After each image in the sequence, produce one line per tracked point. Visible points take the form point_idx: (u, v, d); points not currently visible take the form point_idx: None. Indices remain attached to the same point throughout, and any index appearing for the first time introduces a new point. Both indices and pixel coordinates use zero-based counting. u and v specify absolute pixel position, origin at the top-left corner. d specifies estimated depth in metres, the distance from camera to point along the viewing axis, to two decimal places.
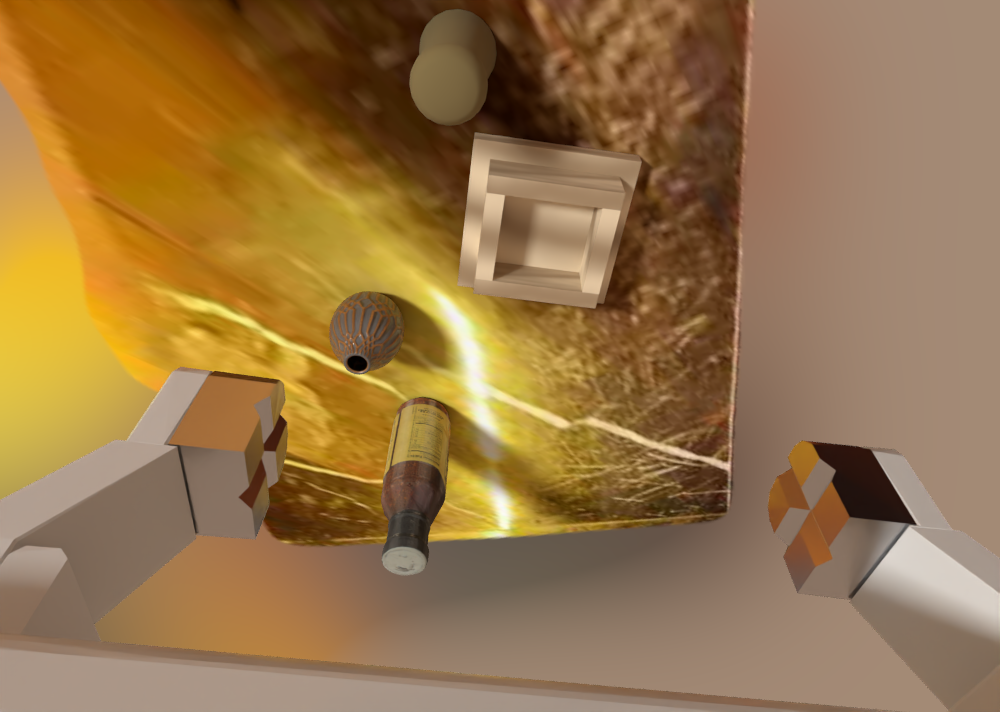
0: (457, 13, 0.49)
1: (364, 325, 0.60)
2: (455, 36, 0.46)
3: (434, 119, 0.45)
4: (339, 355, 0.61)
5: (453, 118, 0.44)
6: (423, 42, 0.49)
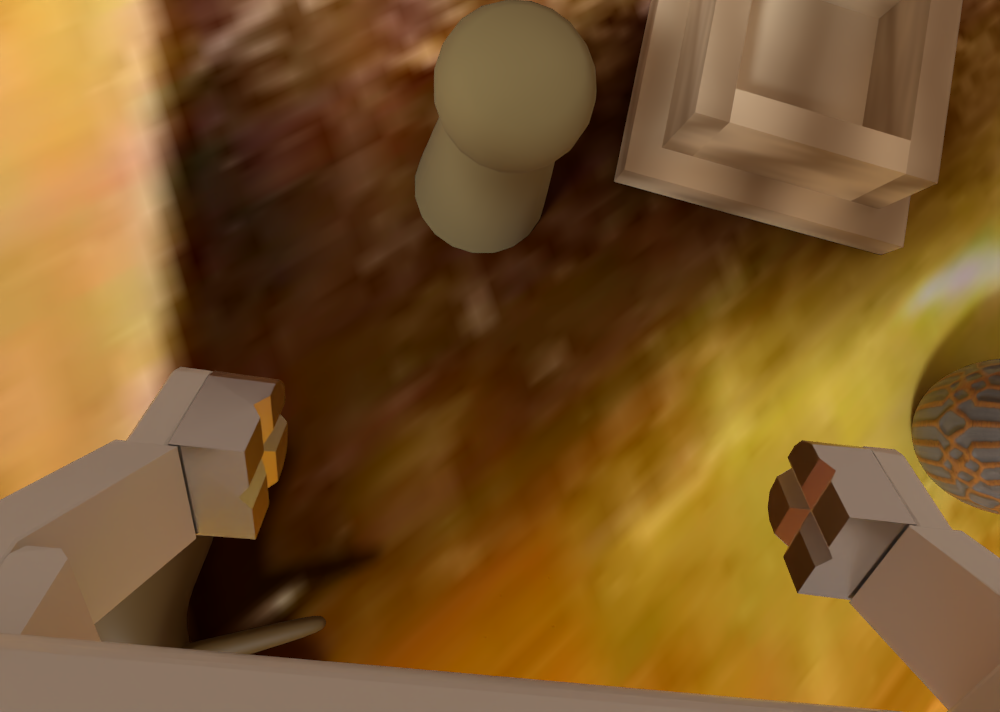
0: (418, 169, 0.29)
1: None
2: (439, 120, 0.25)
3: (581, 107, 0.20)
4: None
5: (580, 63, 0.20)
6: (453, 215, 0.27)
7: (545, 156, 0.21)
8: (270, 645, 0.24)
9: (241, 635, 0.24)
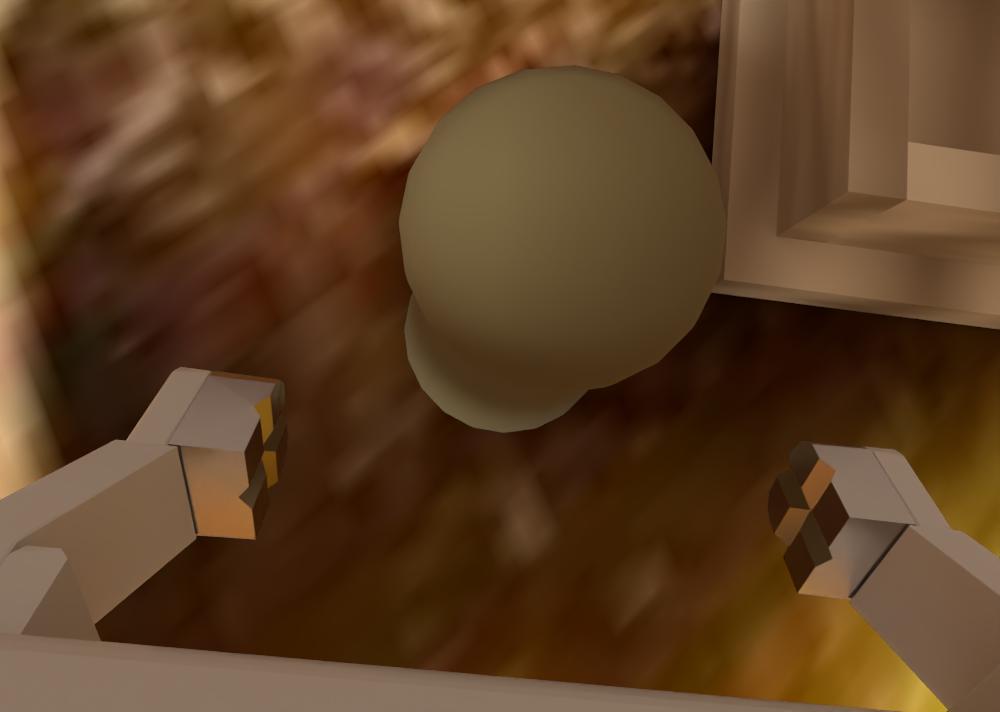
0: (407, 322, 0.19)
1: None
2: None
3: (707, 270, 0.10)
4: None
5: (696, 179, 0.10)
6: (469, 403, 0.17)
7: (639, 368, 0.10)
8: None
9: None
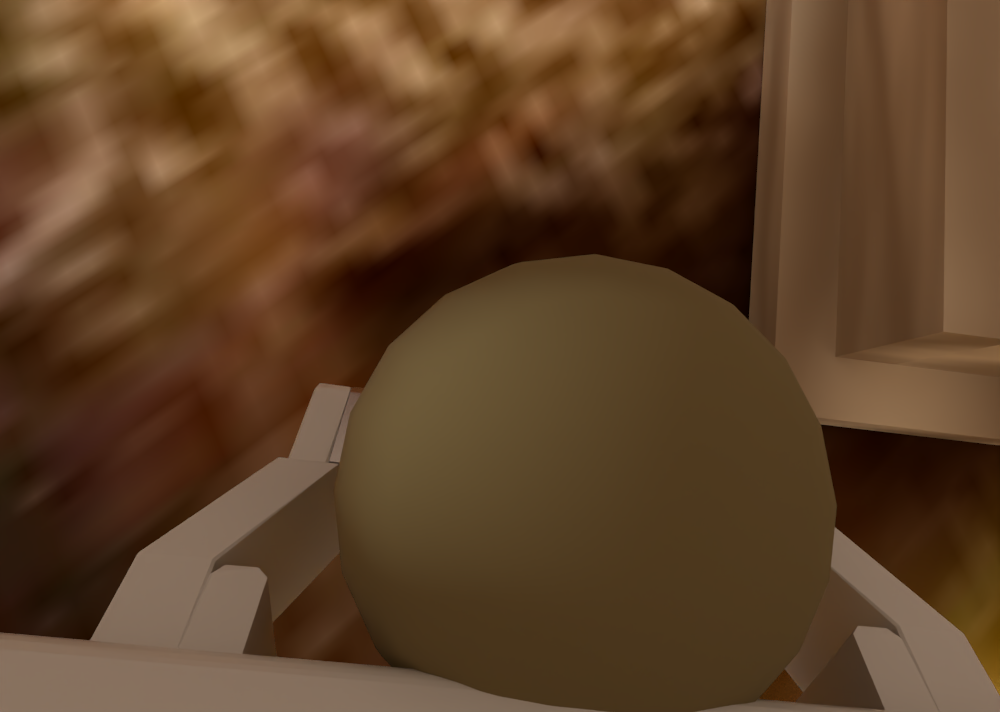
0: None
1: None
2: None
3: (816, 602, 0.06)
4: None
5: (800, 463, 0.06)
6: None
7: None
8: None
9: None
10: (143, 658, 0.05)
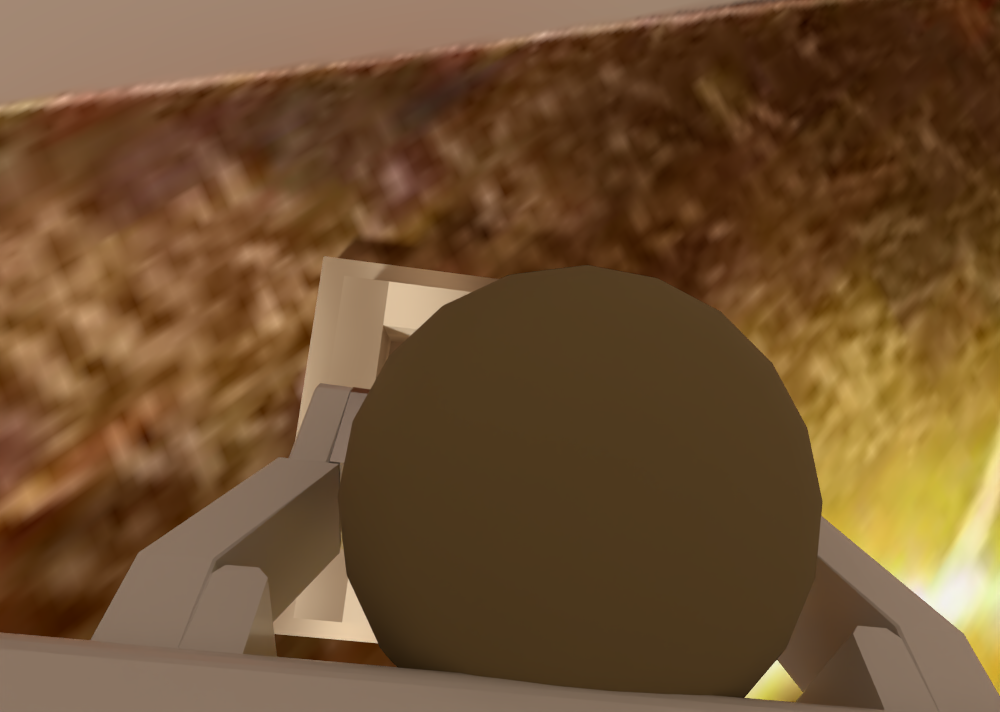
0: None
1: None
2: None
3: (803, 598, 0.06)
4: None
5: (784, 465, 0.06)
6: None
7: None
8: None
9: None
10: (143, 658, 0.05)
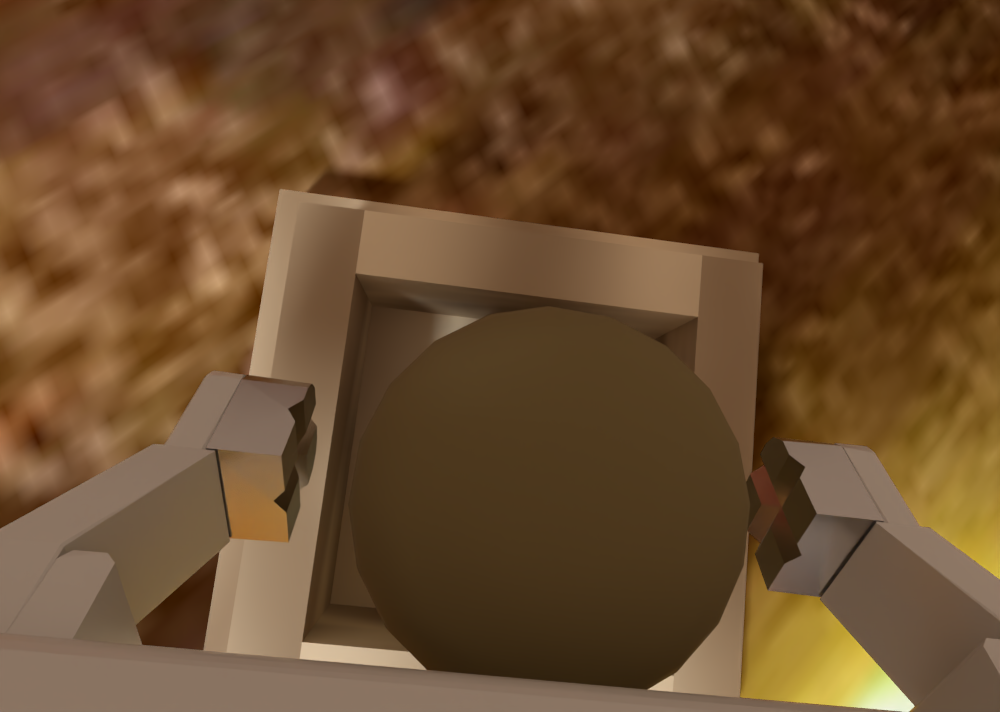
0: None
1: None
2: None
3: (729, 584, 0.08)
4: None
5: (715, 476, 0.08)
6: None
7: None
8: None
9: None
10: (143, 658, 0.05)
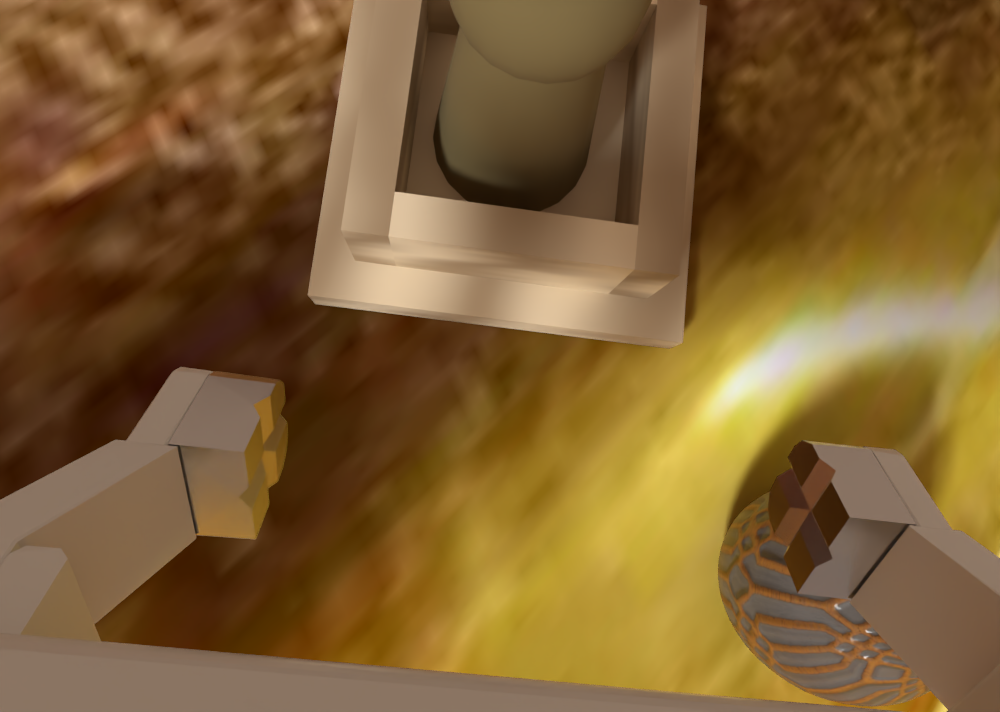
0: (436, 125, 0.24)
1: None
2: (455, 46, 0.20)
3: None
4: (921, 684, 0.18)
5: None
6: (487, 168, 0.23)
7: (603, 47, 0.16)
8: None
9: None
10: (143, 658, 0.05)
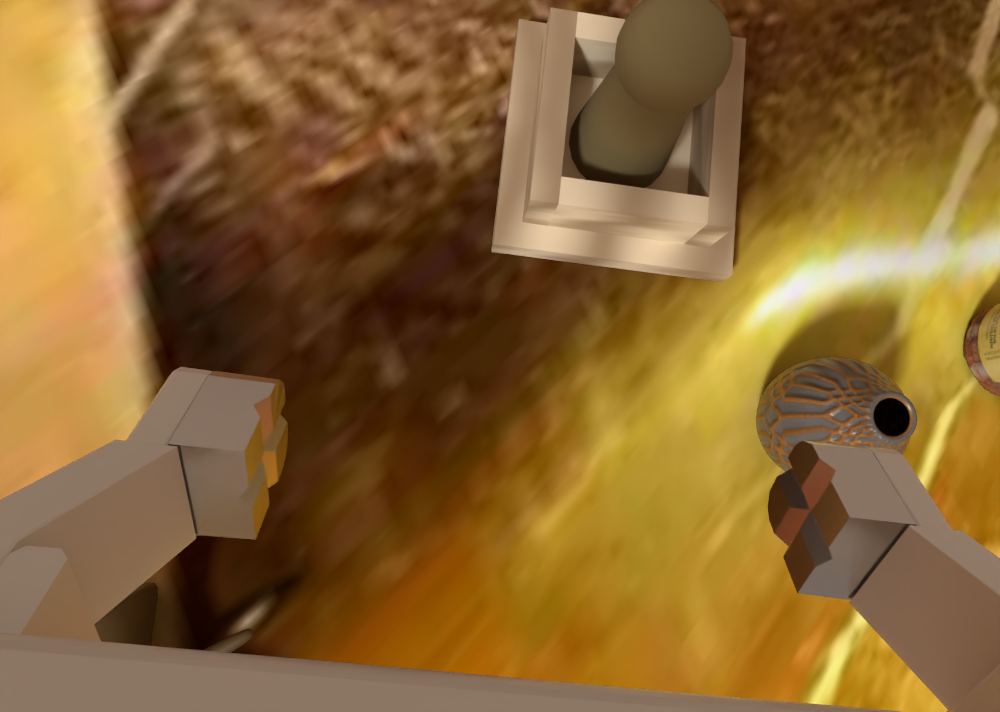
0: (574, 135, 0.38)
1: (811, 410, 0.33)
2: (604, 89, 0.34)
3: (727, 55, 0.29)
4: None
5: (723, 25, 0.29)
6: (613, 162, 0.36)
7: (704, 94, 0.30)
8: None
9: None
10: (143, 658, 0.05)
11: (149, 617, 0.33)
